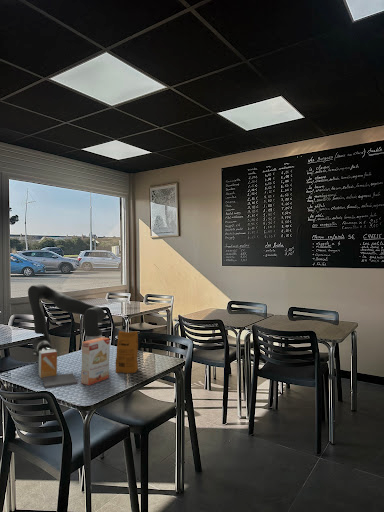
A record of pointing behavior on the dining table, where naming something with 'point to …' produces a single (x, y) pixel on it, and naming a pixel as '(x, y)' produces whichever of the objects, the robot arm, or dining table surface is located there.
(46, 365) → the small box
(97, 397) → the dining table surface
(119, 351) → the coffee package
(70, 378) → the mat
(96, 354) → the cracker box
